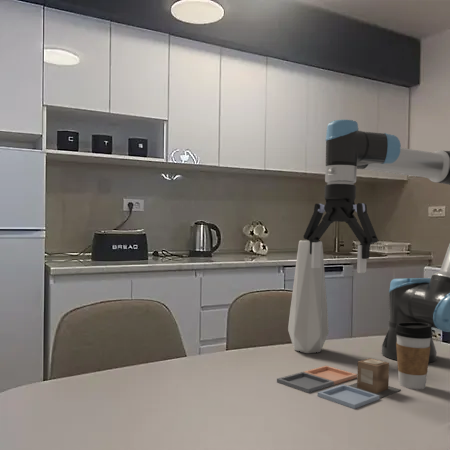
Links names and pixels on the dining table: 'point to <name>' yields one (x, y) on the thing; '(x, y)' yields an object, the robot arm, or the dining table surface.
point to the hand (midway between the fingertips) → (337, 270)
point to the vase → (308, 303)
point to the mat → (382, 393)
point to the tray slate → (348, 396)
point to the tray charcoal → (305, 382)
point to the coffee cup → (413, 353)
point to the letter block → (373, 375)
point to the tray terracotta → (332, 374)
